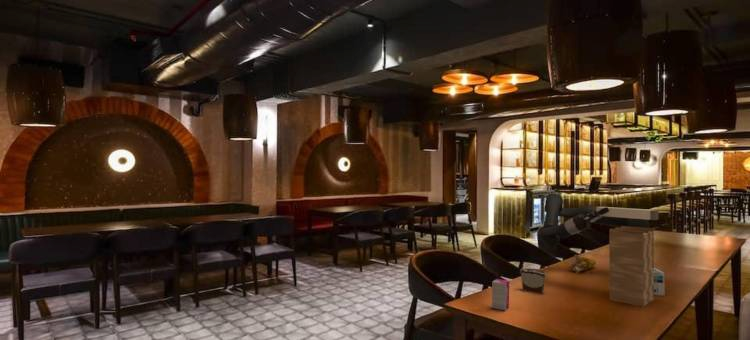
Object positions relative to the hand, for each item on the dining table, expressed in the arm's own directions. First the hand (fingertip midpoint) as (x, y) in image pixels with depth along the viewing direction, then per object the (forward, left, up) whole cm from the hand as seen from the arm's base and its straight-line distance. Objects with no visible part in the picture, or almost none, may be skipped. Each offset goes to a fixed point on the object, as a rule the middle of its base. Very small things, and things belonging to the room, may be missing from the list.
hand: (609, 208), depth 200 cm
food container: (+21, -26, -39) cm, 52 cm away
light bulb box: (-17, +12, -39) cm, 45 cm away
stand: (+3, +10, -39) cm, 40 cm away
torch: (-41, -27, -40) cm, 63 cm away
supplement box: (+56, -23, -39) cm, 72 cm away
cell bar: (0, +7, -3) cm, 8 cm away
